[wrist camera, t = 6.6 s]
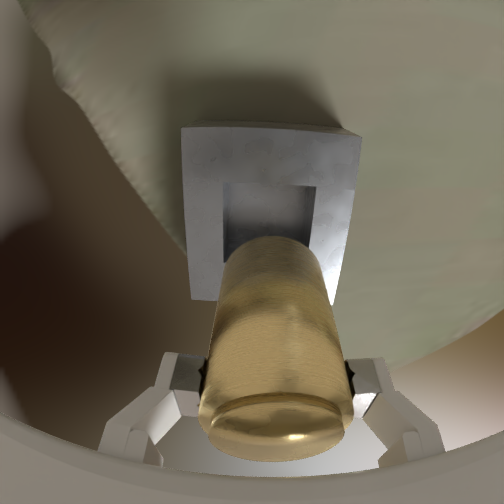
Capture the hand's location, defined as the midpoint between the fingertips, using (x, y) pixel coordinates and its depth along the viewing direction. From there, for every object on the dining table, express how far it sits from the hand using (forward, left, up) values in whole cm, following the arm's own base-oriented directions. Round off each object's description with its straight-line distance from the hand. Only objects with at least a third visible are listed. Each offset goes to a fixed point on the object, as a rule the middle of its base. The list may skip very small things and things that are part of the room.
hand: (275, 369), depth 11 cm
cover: (0, 0, -6) cm, 6 cm away
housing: (0, 0, -18) cm, 18 cm away
